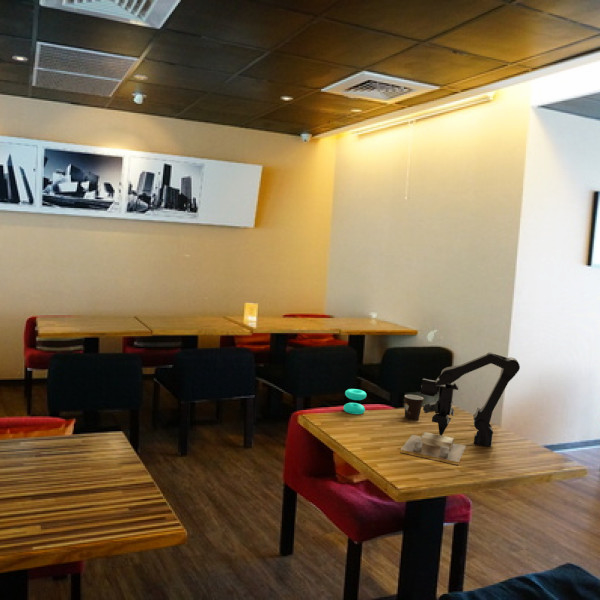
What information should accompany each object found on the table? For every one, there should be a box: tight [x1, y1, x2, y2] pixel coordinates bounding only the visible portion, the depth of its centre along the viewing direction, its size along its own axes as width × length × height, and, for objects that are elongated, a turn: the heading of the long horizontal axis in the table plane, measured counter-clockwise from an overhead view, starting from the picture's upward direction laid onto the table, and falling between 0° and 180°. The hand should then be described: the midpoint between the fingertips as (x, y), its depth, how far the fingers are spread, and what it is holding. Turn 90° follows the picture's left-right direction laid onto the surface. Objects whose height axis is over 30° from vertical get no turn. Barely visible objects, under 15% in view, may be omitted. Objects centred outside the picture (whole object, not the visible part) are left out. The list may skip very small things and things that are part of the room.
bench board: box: [399, 434, 467, 467], centre depth 245 cm, size 22×22×5 cm
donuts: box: [343, 388, 367, 415], centre depth 291 cm, size 10×10×10 cm
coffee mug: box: [402, 394, 424, 421], centre depth 291 cm, size 12×9×10 cm
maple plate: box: [420, 431, 455, 449], centre depth 250 cm, size 12×8×2 cm, turn 68°
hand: (440, 435), depth 259 cm, fingers closed
